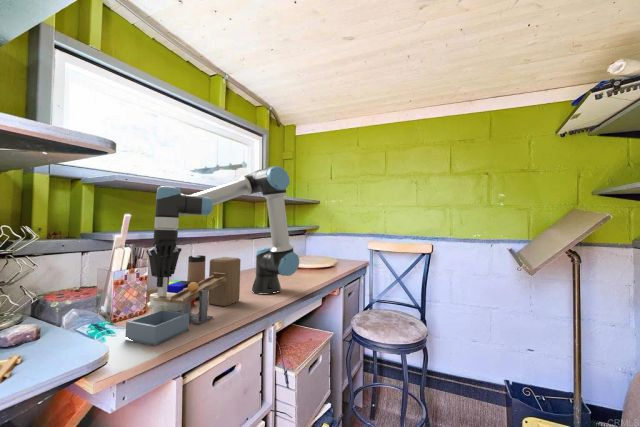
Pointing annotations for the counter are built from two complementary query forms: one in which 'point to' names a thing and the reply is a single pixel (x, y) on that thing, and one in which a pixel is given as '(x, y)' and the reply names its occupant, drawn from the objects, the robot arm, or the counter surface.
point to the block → (231, 286)
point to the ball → (193, 287)
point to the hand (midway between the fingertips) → (162, 295)
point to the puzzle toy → (176, 288)
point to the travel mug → (196, 269)
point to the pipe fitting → (155, 303)
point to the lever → (188, 296)
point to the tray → (157, 327)
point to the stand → (203, 309)
